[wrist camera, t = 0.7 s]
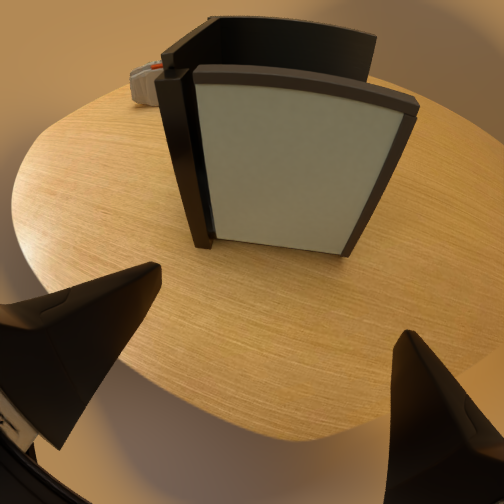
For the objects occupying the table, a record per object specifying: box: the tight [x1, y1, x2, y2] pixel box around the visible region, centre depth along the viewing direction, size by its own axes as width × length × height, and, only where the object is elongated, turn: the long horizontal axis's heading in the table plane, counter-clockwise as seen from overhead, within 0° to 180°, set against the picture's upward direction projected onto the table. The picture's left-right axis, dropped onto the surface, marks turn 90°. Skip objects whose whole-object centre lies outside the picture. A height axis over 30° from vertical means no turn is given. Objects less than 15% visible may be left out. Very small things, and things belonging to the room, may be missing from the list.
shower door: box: [193, 65, 420, 258], centre depth 19 cm, size 1×12×16 cm, turn 81°
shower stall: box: [154, 16, 377, 255], centre depth 22 cm, size 14×15×18 cm
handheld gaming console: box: [130, 60, 163, 106], centre depth 38 cm, size 14×3×8 cm, turn 93°
